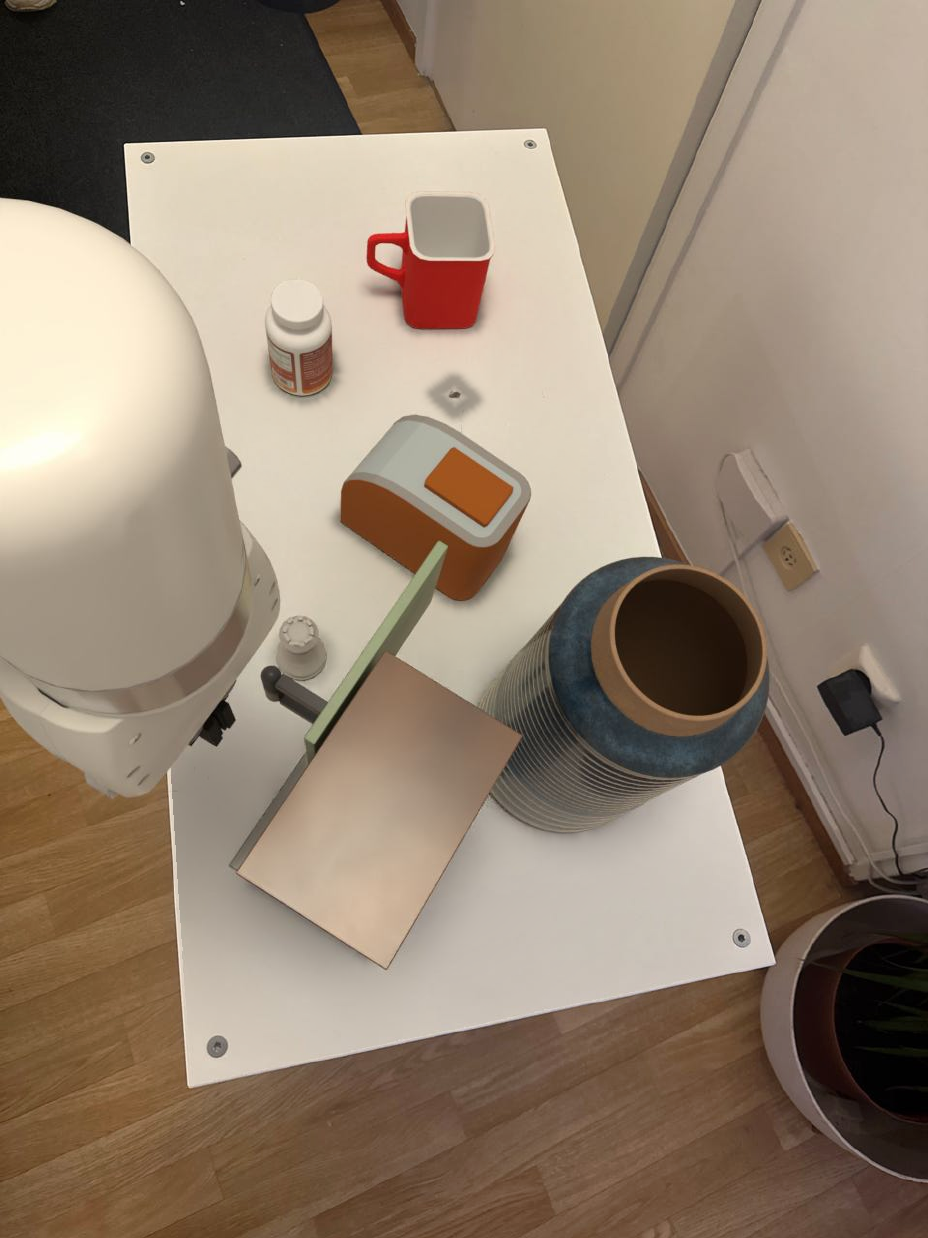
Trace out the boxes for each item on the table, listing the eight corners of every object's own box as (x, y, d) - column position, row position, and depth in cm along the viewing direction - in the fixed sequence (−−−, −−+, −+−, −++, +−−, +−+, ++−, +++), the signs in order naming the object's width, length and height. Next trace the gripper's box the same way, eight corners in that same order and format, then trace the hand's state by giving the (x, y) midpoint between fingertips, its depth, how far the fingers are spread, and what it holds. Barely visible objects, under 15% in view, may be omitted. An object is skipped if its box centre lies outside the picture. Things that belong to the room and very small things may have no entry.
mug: (471, 267, 97) (486, 191, 87) (480, 330, 94) (497, 260, 84) (361, 266, 95) (364, 189, 85) (367, 331, 92) (371, 260, 82)
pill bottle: (333, 347, 91) (333, 273, 80) (331, 399, 89) (331, 330, 79) (271, 344, 90) (263, 268, 80) (269, 396, 88) (260, 325, 78)
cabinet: (255, 880, 73) (205, 854, 44) (348, 739, 78) (358, 632, 49) (365, 950, 73) (386, 970, 44) (452, 804, 78) (523, 735, 49)
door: (247, 729, 57) (230, 692, 47) (366, 561, 61) (372, 498, 52) (317, 773, 56) (314, 745, 47) (431, 602, 61) (448, 545, 52)
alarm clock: (513, 544, 87) (544, 479, 74) (465, 609, 84) (489, 553, 71) (391, 460, 88) (400, 382, 75) (339, 521, 85) (340, 451, 72)
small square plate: (452, 416, 91) (453, 410, 90) (433, 396, 91) (434, 390, 90) (473, 400, 91) (473, 393, 90) (454, 380, 92) (454, 374, 91)
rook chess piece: (333, 642, 81) (333, 614, 73) (317, 687, 79) (315, 663, 72) (286, 628, 81) (281, 598, 73) (269, 672, 79) (262, 647, 72)
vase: (664, 814, 80) (859, 753, 50) (491, 850, 77) (591, 806, 47) (619, 644, 85) (773, 497, 55) (454, 671, 82) (524, 530, 52)
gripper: (173, 352, 29) (227, 562, 46) (-168, 725, 24) (35, 807, 41) (363, 470, 29) (347, 638, 46) (60, 873, 24) (169, 893, 41)
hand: (200, 717), depth 44 cm, fingers closed
